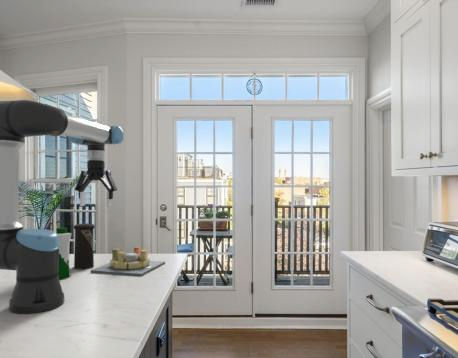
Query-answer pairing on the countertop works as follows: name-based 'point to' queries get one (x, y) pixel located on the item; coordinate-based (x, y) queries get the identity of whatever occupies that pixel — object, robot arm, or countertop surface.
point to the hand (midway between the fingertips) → (95, 206)
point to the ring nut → (120, 262)
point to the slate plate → (134, 272)
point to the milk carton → (63, 252)
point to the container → (84, 246)
